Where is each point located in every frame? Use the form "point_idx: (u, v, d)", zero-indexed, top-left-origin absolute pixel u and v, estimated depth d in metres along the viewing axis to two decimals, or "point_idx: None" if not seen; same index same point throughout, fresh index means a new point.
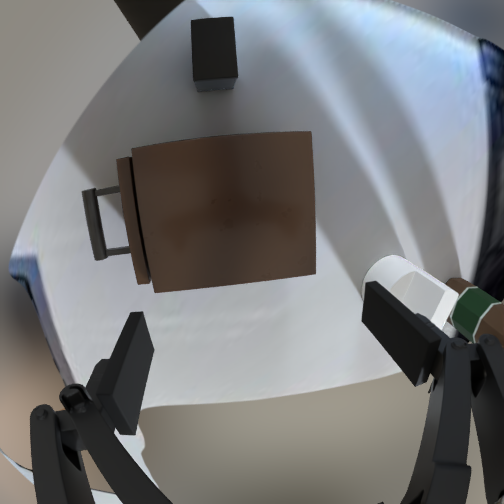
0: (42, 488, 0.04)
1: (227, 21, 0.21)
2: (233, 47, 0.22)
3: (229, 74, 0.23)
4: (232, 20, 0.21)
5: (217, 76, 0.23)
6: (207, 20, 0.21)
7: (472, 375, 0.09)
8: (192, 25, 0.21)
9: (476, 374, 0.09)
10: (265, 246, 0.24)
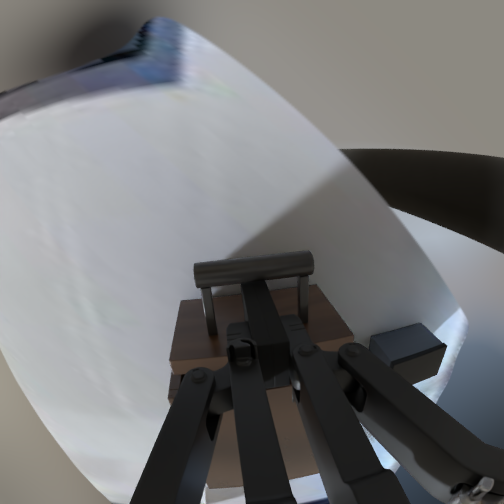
0: (162, 450, 0.07)
1: (434, 372, 0.25)
2: (411, 384, 0.25)
3: None
4: (433, 375, 0.25)
5: None
6: (441, 358, 0.24)
7: None
8: (442, 348, 0.24)
9: None
10: (236, 468, 0.19)
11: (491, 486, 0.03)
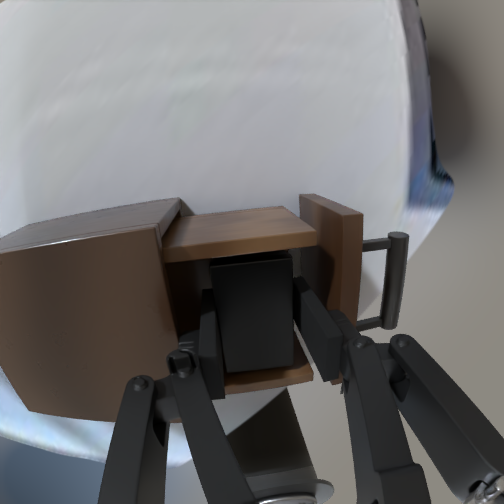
0: (115, 458, 0.06)
1: (235, 365, 0.17)
2: (221, 321, 0.15)
3: (225, 270, 0.14)
4: (227, 367, 0.17)
5: (248, 265, 0.15)
6: (267, 365, 0.17)
7: None
8: (291, 356, 0.17)
9: (388, 376, 0.11)
10: (11, 306, 0.12)
11: None
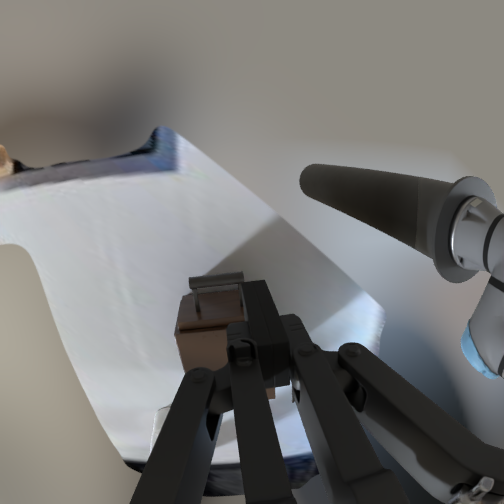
0: (162, 450, 0.07)
1: None
2: None
3: None
4: None
5: None
6: None
7: None
8: None
9: None
10: None
11: (491, 486, 0.03)
